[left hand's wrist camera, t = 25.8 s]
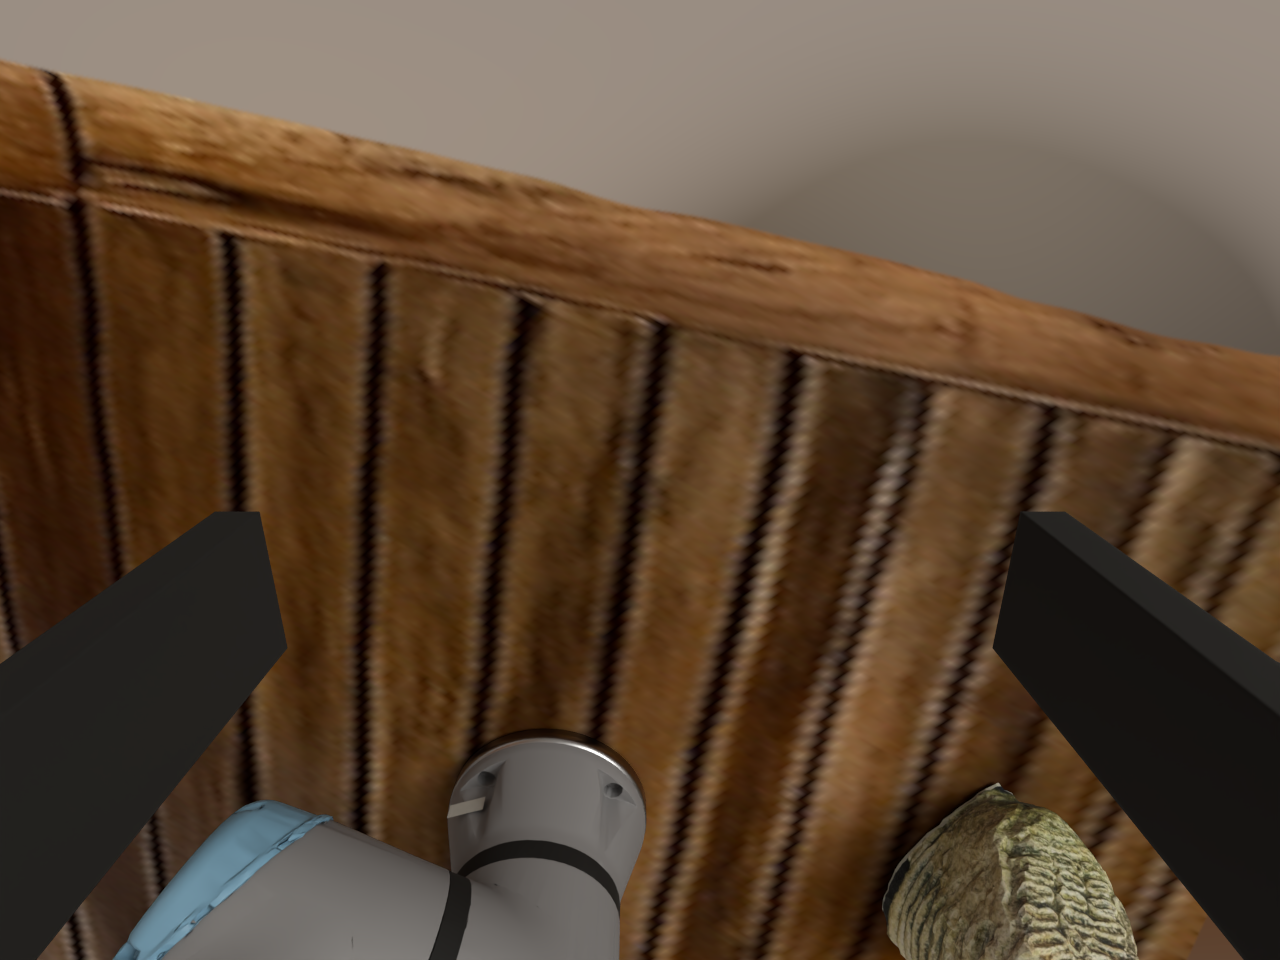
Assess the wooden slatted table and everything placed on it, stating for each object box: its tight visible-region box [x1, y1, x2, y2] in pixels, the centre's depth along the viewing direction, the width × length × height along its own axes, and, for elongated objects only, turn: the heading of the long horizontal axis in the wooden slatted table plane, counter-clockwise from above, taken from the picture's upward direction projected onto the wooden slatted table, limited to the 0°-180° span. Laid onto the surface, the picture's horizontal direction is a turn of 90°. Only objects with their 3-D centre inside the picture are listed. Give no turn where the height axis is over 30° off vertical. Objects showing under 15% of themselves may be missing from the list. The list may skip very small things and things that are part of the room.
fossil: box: [882, 783, 1139, 960], centre depth 51 cm, size 9×18×15 cm, turn 164°
